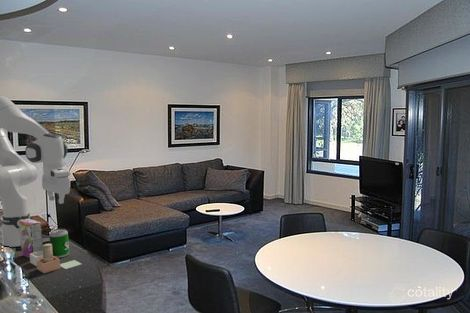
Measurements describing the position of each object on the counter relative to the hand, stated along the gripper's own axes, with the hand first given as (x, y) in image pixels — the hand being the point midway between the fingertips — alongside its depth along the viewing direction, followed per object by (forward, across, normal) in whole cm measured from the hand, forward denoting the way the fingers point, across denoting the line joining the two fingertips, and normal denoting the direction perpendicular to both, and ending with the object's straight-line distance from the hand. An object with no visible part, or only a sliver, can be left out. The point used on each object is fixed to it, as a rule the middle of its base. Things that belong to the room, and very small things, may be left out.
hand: (56, 201), depth 179 cm
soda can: (+25, 0, 0) cm, 25 cm away
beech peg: (+24, +12, -10) cm, 29 cm away
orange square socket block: (+25, +12, -10) cm, 30 cm away
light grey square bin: (+25, +2, -9) cm, 27 cm away
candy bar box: (+25, -10, -8) cm, 28 cm away
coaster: (+25, +14, -2) cm, 29 cm away
